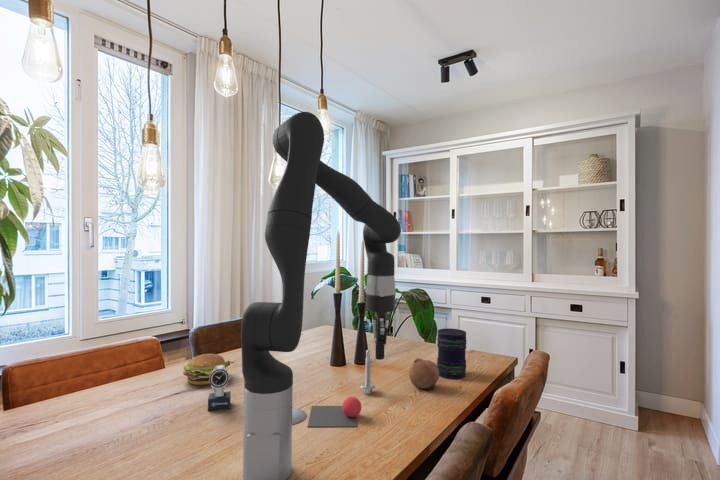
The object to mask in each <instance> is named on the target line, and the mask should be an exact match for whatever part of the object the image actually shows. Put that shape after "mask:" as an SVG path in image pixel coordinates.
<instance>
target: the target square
mask: <svg viewBox="0 0 720 480" xmlns="http://www.w3.org/2000/svg"><path fill="white" fill-rule="evenodd" d="M357 427H358V426H357V416H356V417H352V418H351V417H348V416H346V415H345V414H344V413H343V410H342V405H312V406H311V408H310V413H309V418H308V422H307V428H357Z"/></svg>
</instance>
